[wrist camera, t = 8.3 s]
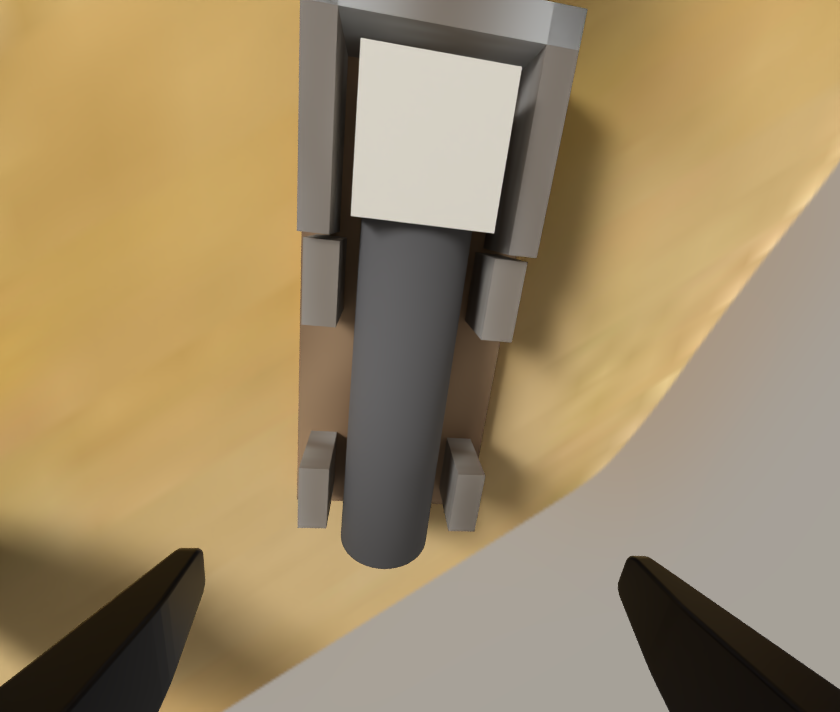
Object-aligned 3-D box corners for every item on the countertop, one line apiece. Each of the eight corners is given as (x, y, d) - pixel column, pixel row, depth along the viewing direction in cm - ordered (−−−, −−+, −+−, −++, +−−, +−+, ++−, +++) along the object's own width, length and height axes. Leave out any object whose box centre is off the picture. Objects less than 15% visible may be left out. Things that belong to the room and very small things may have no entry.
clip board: (300, 486, 21) (280, 555, 16) (310, 1, 14) (281, -94, 10) (465, 492, 22) (486, 557, 18) (547, 45, 15) (611, -23, 11)
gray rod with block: (425, 505, 21) (436, 577, 17) (340, 503, 20) (330, 576, 16) (482, 109, 15) (522, 66, 11) (366, 90, 14) (360, 37, 10)
